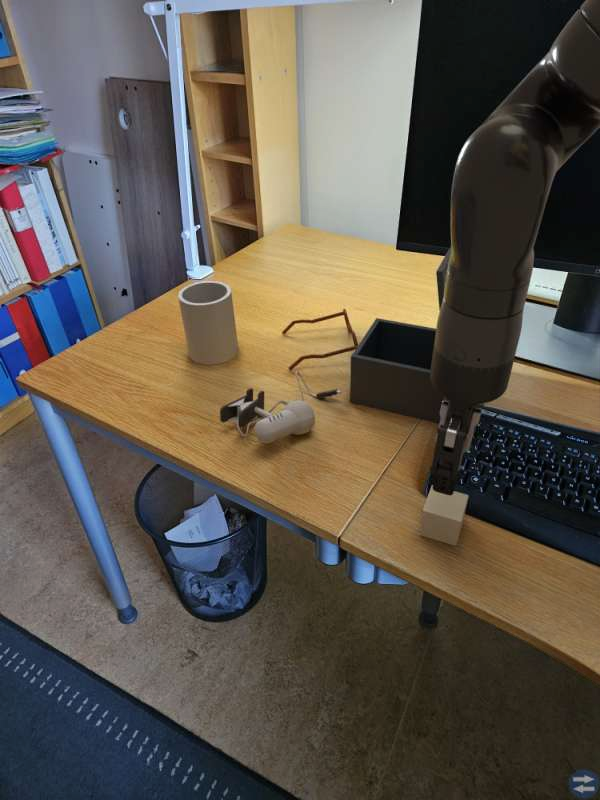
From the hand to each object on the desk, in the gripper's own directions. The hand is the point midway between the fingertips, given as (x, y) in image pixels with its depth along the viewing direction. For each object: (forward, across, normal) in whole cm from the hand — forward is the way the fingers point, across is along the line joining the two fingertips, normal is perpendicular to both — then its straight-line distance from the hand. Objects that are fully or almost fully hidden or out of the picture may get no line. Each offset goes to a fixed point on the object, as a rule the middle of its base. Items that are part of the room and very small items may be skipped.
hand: (451, 465), depth 63 cm
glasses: (+11, +33, +30) cm, 46 cm away
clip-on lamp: (+11, +12, +27) cm, 31 cm away
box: (+11, +26, +12) cm, 30 cm away
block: (+10, 0, 0) cm, 11 cm away
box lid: (-6, +26, +7) cm, 27 cm away
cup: (+11, +25, +48) cm, 55 cm away
